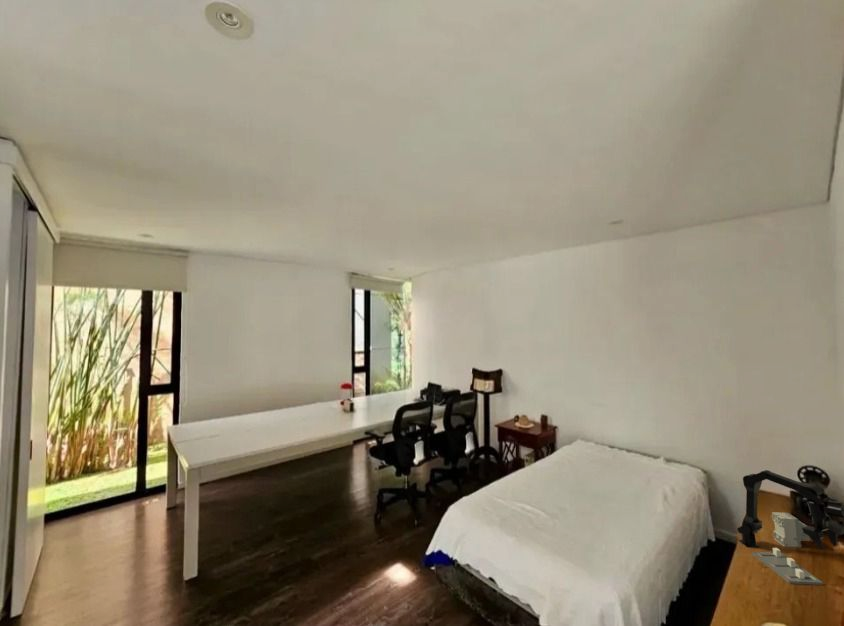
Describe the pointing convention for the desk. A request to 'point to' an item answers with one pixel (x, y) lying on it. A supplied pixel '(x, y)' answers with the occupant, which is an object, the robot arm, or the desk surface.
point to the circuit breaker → (788, 530)
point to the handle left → (777, 552)
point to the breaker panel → (786, 568)
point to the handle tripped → (799, 573)
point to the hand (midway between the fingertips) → (828, 547)
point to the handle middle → (791, 562)
